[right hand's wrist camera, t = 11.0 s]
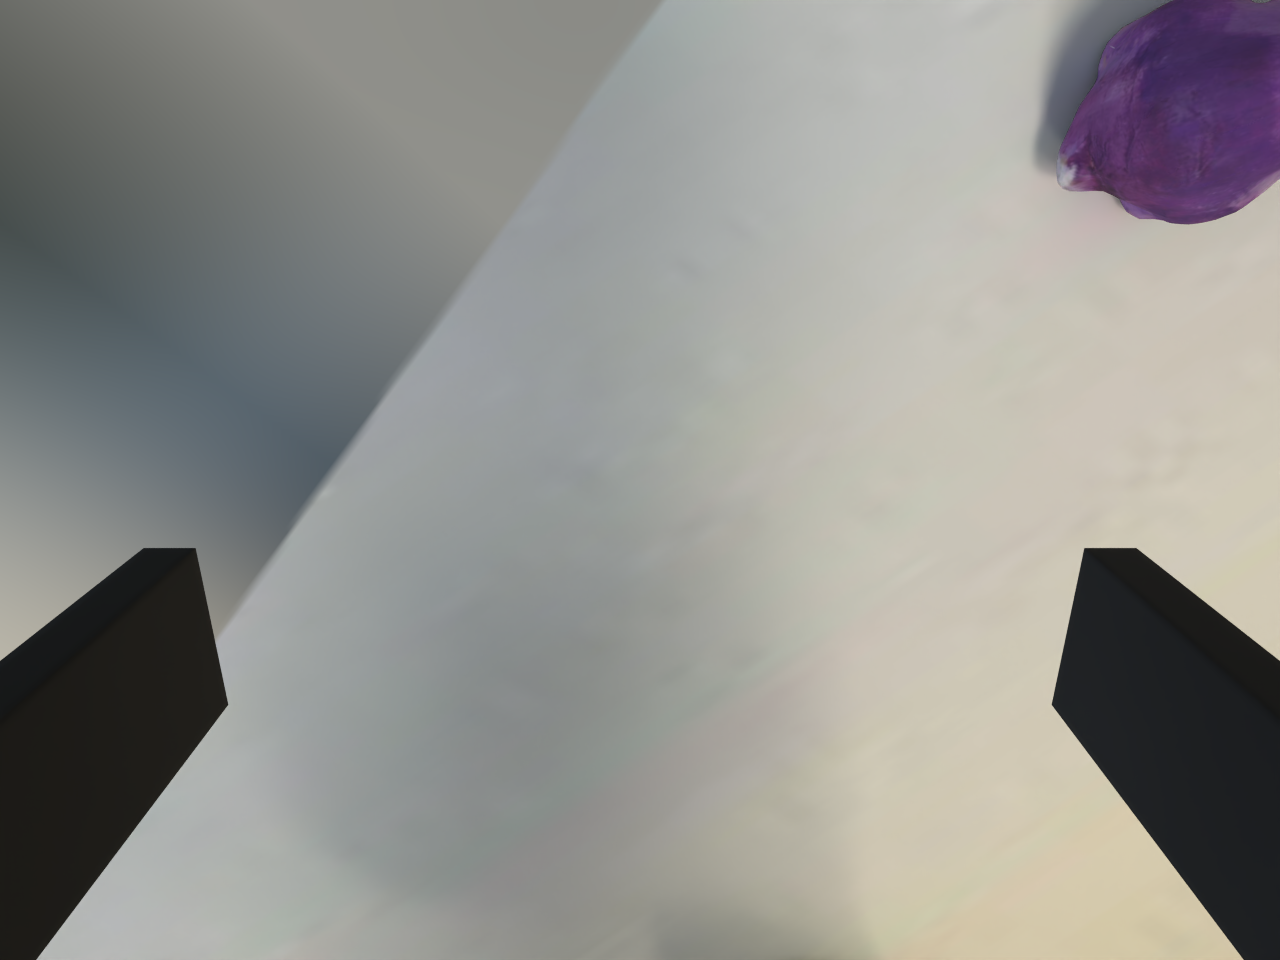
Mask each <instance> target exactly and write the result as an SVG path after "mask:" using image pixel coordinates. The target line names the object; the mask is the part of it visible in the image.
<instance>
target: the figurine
mask: <svg viewBox="0 0 1280 960" xmlns="http://www.w3.org/2000/svg"><path fill="white" fill-rule="evenodd" d="M1279 179H1280V0H1271V1H1269V2H1266V3H1255V2H1253V1H1251V0H1173V1H1171V2H1169V3H1167V4H1165V5H1163V6H1161V7H1159V8H1157V9H1156V10H1154V11H1152V12H1151V13H1149V14H1147V15H1145V16H1144V17H1141V18H1139V19H1137V20H1135V21H1134V22H1132V23H1130V24H1128V25H1126V26H1125V27H1123V28H1121V29H1120V30H1119V31H1118V32H1117V33H1116V34H1115V35H1114V36H1113V37H1112V38H1111V40H1110V41H1109V42H1108V43H1107V45H1106V47H1105V49H1104V51H1103V54H1102V57H1101V60H1100V63H1099V66H1098V77H1097V80H1096V82H1095V85H1094V86H1093V87H1092V89H1091V90H1090V92H1089V93H1088V94H1087V96H1086V97H1085V99H1084V100H1083V102H1082V103H1081V105H1080V106H1079V108H1078V111H1077V113H1076V115H1075V117H1074V119H1073V121H1072V124H1071V126H1070V128H1069V130H1068V132H1067V134H1066V136H1065V138H1064V141H1063V143H1062V145H1061V148H1060V150H1059V153H1058V160H1057V181H1058V183H1059V185H1060V186H1061V187H1062V188H1063V189H1065V190H1068V191H1104V192H1107V193H1109V194H1111V195H1113V196H1115V197H1117V198H1119V199H1120V201H1121V203H1122V205H1123V207H1124V208H1125V210H1126V211H1127V212H1128V213H1130V214H1131V215H1133V216H1135V217H1137V218H1139V219H1158V220H1164V221H1166V222H1169V223H1175V224H1196V223H1202V222H1207V221H1212V220H1216V219H1218V218H1221V217H1224V216H1226V215H1229V214H1232V213H1234V212H1236V211H1238V210H1240V209H1241V208H1243V207H1244V206H1246V205H1247V204H1248V203H1250V202H1251V201H1252V200H1254V199H1255V198H1256V197H1258V196H1259V195H1260V194H1262V193H1263V192H1264V191H1265V190H1267V189H1268V188H1269V187H1270V186H1271V185H1273V184H1274V183H1275V182H1276V181H1277V180H1279Z"/></svg>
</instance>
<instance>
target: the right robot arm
mask: <svg viewBox="0 0 1280 960" xmlns="http://www.w3.org/2000/svg"><path fill="white" fill-rule="evenodd" d="M227 706H228V701H227V697H226V692H225V687H224V682H223V677H222V673H221V668H220V663H219V658H218V653H217V649H216V644H215V639H214V634H213V629H212V625H211V620H210V615H209V610H208V606H207V601H206V596H205V591H204V586H203V582H202V577H201V572H200V567H199V562H198V558H197V553H196V549H195V548H143V549H142V550H141V551H140V552H138V553H137V554H136V555H134V556H133V557H132V558H131V559H129V560H128V561H127V562H125V563H124V564H123V565H122V566H120V567H119V568H118V569H117V570H115V571H114V572H113V573H111V574H110V575H109V576H108V577H106V578H105V579H104V580H103V581H101V582H100V583H99V584H97V585H96V586H95V587H94V588H92V589H91V590H90V591H89V592H87V593H86V594H85V595H84V596H82V597H81V598H80V599H78V600H77V601H76V602H75V603H73V604H72V605H71V606H70V607H68V608H67V609H66V610H64V611H63V612H62V613H61V614H59V615H58V616H57V617H56V618H54V619H53V620H52V621H50V622H49V623H48V624H47V625H45V626H44V627H43V628H42V629H40V630H39V631H38V632H36V633H35V634H34V635H33V636H31V637H30V638H29V639H28V640H26V641H25V642H24V643H22V644H21V645H20V646H19V647H17V648H16V649H15V650H14V651H12V652H11V653H10V654H8V655H7V656H6V657H5V658H3V659H2V660H1V661H0V960H36V959H37V958H38V957H39V955H40V954H41V953H42V951H43V950H44V949H45V947H46V946H47V945H48V943H49V942H50V941H51V939H52V938H53V937H54V935H55V934H56V933H57V931H58V930H59V929H60V927H61V926H62V925H63V923H64V922H65V921H66V919H67V918H68V917H69V916H70V914H71V913H72V912H73V910H74V909H75V908H76V906H77V905H78V904H79V902H80V901H81V900H82V898H83V897H84V896H85V894H86V893H87V892H88V890H89V889H90V888H91V886H92V885H93V884H94V882H95V881H96V880H97V878H98V877H99V876H100V874H101V873H102V872H103V870H104V869H105V868H106V866H107V865H108V864H109V862H110V861H111V860H112V858H113V857H114V856H115V854H116V853H117V852H118V850H119V849H120V848H121V846H122V845H123V844H124V842H125V841H126V840H127V838H128V837H129V836H130V835H131V833H132V832H133V831H134V829H135V828H136V827H137V825H138V824H139V823H140V821H141V820H142V819H143V817H144V816H145V815H146V813H147V812H148V811H149V809H150V808H151V807H152V805H153V804H154V803H155V801H156V800H157V799H158V797H159V796H160V795H161V793H162V792H163V791H164V789H165V788H166V787H167V785H168V784H169V783H170V781H171V780H172V779H173V777H174V776H175V775H176V773H177V772H178V771H179V769H180V768H181V767H182V765H183V764H184V763H185V761H186V760H187V759H188V757H189V756H190V755H191V754H192V752H193V751H194V750H195V748H196V747H197V746H198V744H199V743H200V742H201V740H202V739H203V738H204V736H205V735H206V734H207V732H208V731H209V730H210V728H211V727H212V726H213V724H214V723H215V722H216V720H217V719H218V718H219V716H220V715H221V714H222V712H223V711H224V710H225V708H226V707H227ZM1052 706H1053V707H1054V708H1055V710H1056V711H1057V712H1058V714H1059V715H1060V716H1061V718H1062V719H1063V720H1064V722H1065V723H1066V724H1067V726H1068V727H1069V728H1070V730H1071V731H1072V732H1073V734H1074V735H1075V736H1076V738H1077V739H1078V740H1079V742H1080V743H1081V744H1082V746H1083V747H1084V748H1085V750H1086V751H1087V752H1088V754H1089V755H1090V756H1091V757H1092V759H1093V760H1094V761H1095V763H1096V764H1097V765H1098V767H1099V768H1100V769H1101V771H1102V772H1103V773H1104V775H1105V776H1106V777H1107V779H1108V780H1109V781H1110V783H1111V784H1112V785H1113V787H1114V788H1115V789H1116V791H1117V792H1118V793H1119V795H1120V796H1121V797H1122V799H1123V800H1124V801H1125V803H1126V804H1127V805H1128V807H1129V808H1130V809H1131V811H1132V812H1133V813H1134V815H1135V816H1136V817H1137V819H1138V820H1139V821H1140V823H1141V824H1142V825H1143V827H1144V828H1145V829H1146V831H1147V832H1148V833H1149V835H1150V836H1151V837H1152V838H1153V840H1154V841H1155V842H1156V844H1157V845H1158V846H1159V848H1160V849H1161V850H1162V852H1163V853H1164V854H1165V856H1166V857H1167V858H1168V860H1169V861H1170V862H1171V864H1172V865H1173V866H1174V868H1175V869H1176V870H1177V872H1178V873H1179V874H1180V876H1181V877H1182V878H1183V880H1184V881H1185V882H1186V884H1187V885H1188V886H1189V888H1190V889H1191V890H1192V892H1193V893H1194V894H1195V896H1196V897H1197V898H1198V900H1199V901H1200V902H1201V904H1202V905H1203V906H1204V908H1205V909H1206V910H1207V912H1208V913H1209V914H1210V916H1211V917H1212V918H1213V919H1214V921H1215V922H1216V923H1217V925H1218V926H1219V927H1220V929H1221V930H1222V931H1223V933H1224V934H1225V935H1226V937H1227V938H1228V939H1229V941H1230V942H1231V943H1232V945H1233V946H1234V947H1235V949H1236V950H1237V951H1238V953H1239V954H1240V955H1241V957H1242V958H1243V959H1244V960H1280V661H1279V660H1278V659H1277V658H1275V657H1274V656H1273V655H1272V654H1270V653H1269V652H1268V651H1266V650H1265V649H1264V648H1263V647H1261V646H1260V645H1259V644H1258V643H1256V642H1255V641H1254V640H1252V639H1251V638H1250V637H1249V636H1247V635H1246V634H1245V633H1244V632H1242V631H1241V630H1240V629H1238V628H1237V627H1236V626H1235V625H1233V624H1232V623H1231V622H1230V621H1228V620H1227V619H1226V618H1224V617H1223V616H1222V615H1221V614H1219V613H1218V612H1217V611H1216V610H1214V609H1213V608H1212V607H1210V606H1209V605H1208V604H1207V603H1205V602H1204V601H1203V600H1202V599H1200V598H1199V597H1198V596H1196V595H1195V594H1194V593H1193V592H1191V591H1190V590H1189V589H1188V588H1186V587H1185V586H1184V585H1183V584H1181V583H1180V582H1179V581H1177V580H1176V579H1175V578H1174V577H1172V576H1171V575H1170V574H1169V573H1167V572H1166V571H1165V570H1163V569H1162V568H1161V567H1160V566H1158V565H1157V564H1156V563H1155V562H1153V561H1152V560H1151V559H1149V558H1148V557H1147V556H1146V555H1144V554H1143V553H1142V552H1141V551H1139V550H1138V549H1137V548H1084V553H1083V558H1082V562H1081V567H1080V572H1079V577H1078V582H1077V586H1076V591H1075V596H1074V601H1073V606H1072V610H1071V615H1070V620H1069V625H1068V629H1067V634H1066V639H1065V644H1064V649H1063V653H1062V658H1061V663H1060V668H1059V673H1058V677H1057V682H1056V687H1055V692H1054V697H1053V701H1052Z"/></svg>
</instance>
